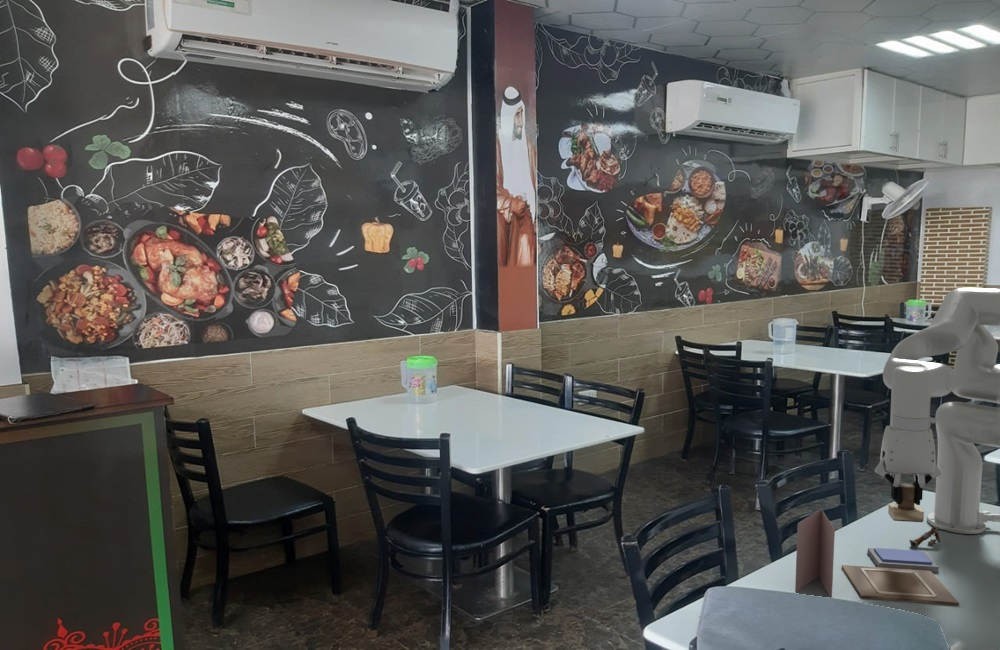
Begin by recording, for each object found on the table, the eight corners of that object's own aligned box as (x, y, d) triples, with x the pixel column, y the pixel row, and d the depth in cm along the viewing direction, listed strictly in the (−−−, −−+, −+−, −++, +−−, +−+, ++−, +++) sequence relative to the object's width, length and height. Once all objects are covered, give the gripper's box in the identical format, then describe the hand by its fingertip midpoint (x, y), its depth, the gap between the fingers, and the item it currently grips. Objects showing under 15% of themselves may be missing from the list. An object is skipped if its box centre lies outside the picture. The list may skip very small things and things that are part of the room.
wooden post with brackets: (946, 541, 169) (941, 525, 168) (920, 558, 168) (915, 542, 167) (939, 538, 171) (934, 522, 170) (914, 555, 169) (909, 539, 169)
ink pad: (923, 556, 163) (924, 549, 163) (938, 572, 155) (938, 564, 155) (867, 552, 165) (867, 545, 165) (879, 568, 158) (879, 560, 157)
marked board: (930, 573, 155) (930, 570, 155) (959, 605, 141) (959, 601, 141) (841, 567, 158) (841, 564, 158) (861, 598, 144) (861, 594, 144)
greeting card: (814, 574, 155) (817, 507, 154) (850, 585, 150) (853, 516, 148) (791, 591, 147) (793, 522, 146) (827, 604, 142) (830, 532, 140)
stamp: (917, 515, 161) (918, 483, 160) (923, 522, 157) (924, 489, 156) (888, 513, 162) (889, 482, 161) (893, 520, 158) (894, 488, 157)
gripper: (943, 418, 159) (939, 497, 161) (864, 417, 162) (861, 495, 164) (958, 427, 152) (954, 510, 154) (874, 426, 155) (872, 507, 157)
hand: (906, 501), depth 159 cm, fingers closed on stamp, 3 cm apart
